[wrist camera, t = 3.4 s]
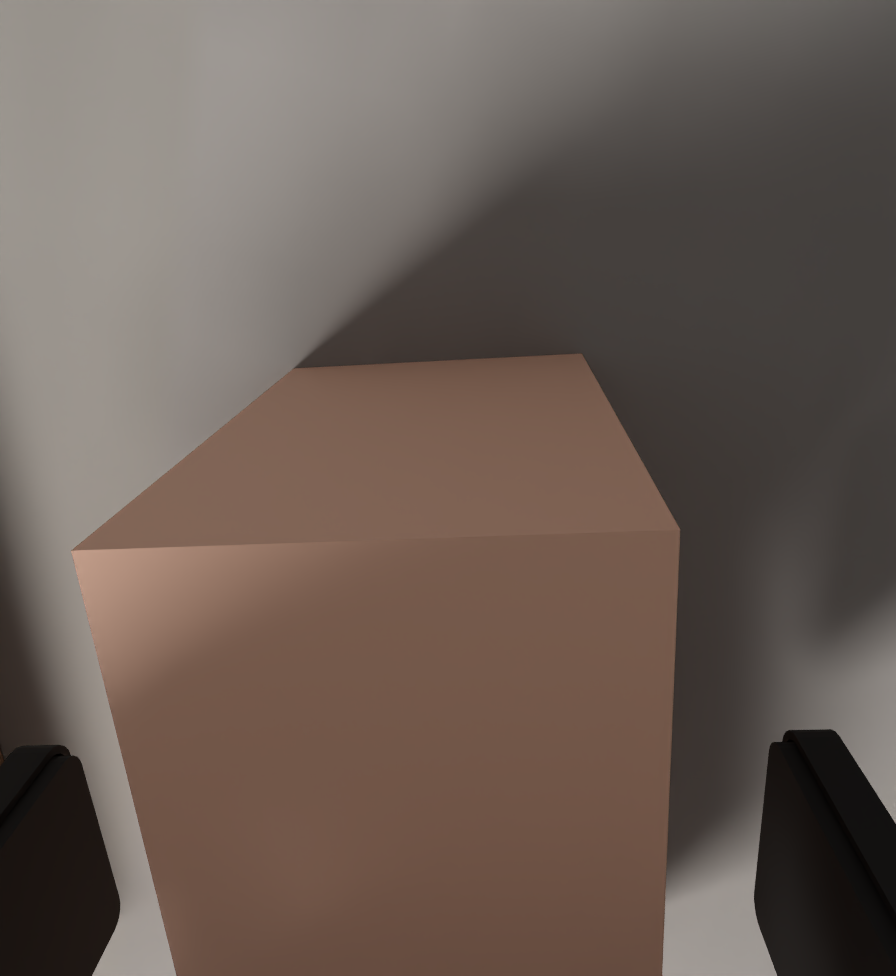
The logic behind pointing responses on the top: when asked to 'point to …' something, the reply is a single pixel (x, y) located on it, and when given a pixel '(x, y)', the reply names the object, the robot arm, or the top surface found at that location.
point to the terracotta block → (400, 677)
